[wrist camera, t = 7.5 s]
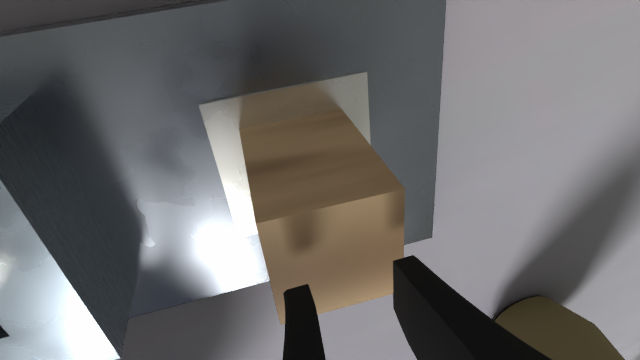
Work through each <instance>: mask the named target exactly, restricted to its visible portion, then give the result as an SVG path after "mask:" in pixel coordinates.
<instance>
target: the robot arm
mask: <svg viewBox="0 0 640 360" xmlns="http://www.w3.org/2000/svg"><path fill="white" fill-rule="evenodd" d="M283 295H284V302H285V340H284V351H283V360H326V359H325V354H324V348H323V343H322V337H321V332H320V327H319V321H318V316H317V310H316V305H315V302H314V299H313V296H312V293H311V290H310V288H309V285H308V284H305V285H302V286H298V287H294V288H290V289H287V290H286V291H285V292H284V293H283ZM393 304H394V310H395V313H396V315H397V318H398V320H399V323H400V325H401V327H402V330H403V332H404V334H405V337H406V339H407V341H408V343H409V345H410V347H411V349H412V351H413V353H414V354H415V356H416V358H417V360H552V359H551V358H549V357H547V356H546V355H544V354H542V353H541V352H539V351H538V350H536V349H534V348H533V347H531V346H530V345H528V344H527V343H525V342H524V341H522V340H521V339H519V338H518V337H516V336H515V335H513V334H512V333H511V332H509V331H508V330H506V329H505V328H503V327H502V326H501V325H499V324H498V323H496V322H495V321H494V320H492V319H491V318H490V317H488V316H487V315H486V314H484V313H483V312H482V311H480V310H479V309H478V308H476V307H475V306H474V305H473V304H471V303H470V302H469V301H467V300H466V299H465V298H464V297H462V296H461V295H460V294H459V293H457V292H456V291H455V290H454V289H452V288H451V287H450V286H449V285H448V284H446V283H445V282H444V281H443V280H442V279H440V278H439V277H438V276H437V275H436V274H435V273H433V272H432V271H431V270H430V269H429V268H428V267H427V266H426V265H424V264H423V263H422V262H421V261H420V260H419V259H418V258H416V257H415V256H413V255H412V256H408V257H405V258H401V259H397V260H394V261H393Z"/></svg>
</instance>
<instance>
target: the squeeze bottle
mask: <svg viewBox="0 0 640 360" xmlns="http://www.w3.org/2000/svg"><path fill="white" fill-rule="evenodd" d="M495 322H496V323H498V324H499V325H501V326H502V327H503V328H505V329H506V330H508V331H509V332H511V333H512V334H513V335H515V336H516V337H518V338H519V339H521V340H522V341H524V342H525V343H527V344H528V345H530V346H531V347H533V348H534V349H536V350H538V351H539V352H541V353H542V354H544V355H546V356H547V357H549V358H551V359H552V360H625V359H624V358H623V357H622V356H621V355H620V353H619V352H618V351H617V350H616V349H615V347H614V346H613V345H612V344H611V343H610V341H609V340H608V339H607V338H606V337H605V336H604V334H603V333H602V332H601V331H600V330H599V329H598V328H597V327H596V326H595V324H593V323H592V322H590V321H588V320H586V319H585V318H583V317H581V316H579V315H578V314H576V313H574V312H572V311H571V310H569V309H567V308H565V307H563V306H562V305H560V304H558V303H556V302H555V301H553V300H551V299H549V298H547V297H541V296H536V297H532V298H527V299H524V300H522V301H520V302H518V303H515V304H513V305H512V306H510V307H509V308H508V309H506V310H505V311H504V312H502V313H501V314H500V315H499V316H498V317H497V319H496V320H495Z"/></svg>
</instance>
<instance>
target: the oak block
mask: <svg viewBox="0 0 640 360" xmlns="http://www.w3.org/2000/svg"><path fill="white" fill-rule="evenodd" d="M239 133H240V138H241V144H242V150H243V155H244V161H245V166H246V172H247V178H248V183H249V189H250V195H251V200H252V206H253V211H254V217H255V223H256V227H257V231H258V235H259V239H260V243H261V247H262V251H263V255H264V260H265V264H266V268H267V272H268V276H269V280H270V284H271V288H272V292H273V296H274V300H275V304H276V308H277V312H278V316H279V320H280V324H285V302H284V295H283V293H284V292H285V291H286V290H287V289H290V288H294V287H298V286H302V285H305V284H308V285H309V288H310V290H311V293H312V296H313V299H314V302H315V305H316V310H317V314H321V313H325V312H328V311H332V310H335V309H339V308H343V307H346V306H350V305H354V304H357V303H361V302H365V301H368V300H372V299H375V298H379V297H383V296H386V295H390V294H393V261H394V260H397V259H401V258H404V211H405V188H404V187H403V186H402V184H401V183H400V182H399V181H398V179H397V178H396V177H395V176H394V174H393V173H392V172H391V170H390V169H389V168H388V167H387V165H386V164H385V163H384V162H383V160H382V159H381V158H380V157H379V155H378V154H377V153H376V151H375V150H374V149H373V148H372V146H371V145H370V144H369V143H368V141H367V140H366V139H365V138H364V136H363V135H362V134H361V133H360V131H359V130H358V129H357V127H356V126H355V125H354V124H353V122H352V121H351V120H350V119H349V117H348V116H347V115H346V114H345V112H344V111H343V110H342V109H341V110H336V111H331V112H326V113H321V114H316V115H311V116H306V117H300V118H295V119H290V120H285V121H280V122H275V123H270V124H265V125H260V126H255V127H250V128H245V129H239Z"/></svg>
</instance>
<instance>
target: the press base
mask: <svg viewBox="0 0 640 360" xmlns="http://www.w3.org/2000/svg"><path fill="white" fill-rule="evenodd" d="M445 11H446V0H199V1H193V2H186V3H180V4H174V5H167V6H161V7H155V8H148V9H142V10H136V11H129V12H123V13H117V14H111V15H104V16H98V17H92V18H85V19H79V20H73V21H66V22H60V23H54V24H47V25H41V26H35V27H29V28H22V29H16V30H10V31H3V32H0V360H118V359H121V354H122V349H123V344H124V339H125V334H126V329H127V324H128V319H129V318H132V317H135V316H139V315H143V314H147V313H150V312H154V311H158V310H162V309H165V308H169V307H173V306H177V305H180V304H184V303H188V302H192V301H196V300H199V299H203V298H207V297H211V296H214V295H218V294H222V293H226V292H229V291H233V290H237V289H241V288H244V287H248V286H252V285H256V284H259V283H263V282H267V281H270V280H269V276H268V272H267V268H266V264H265V260H264V255H263V251H262V247H261V243H260V239H259V235H258V231H257V227H256V223H255V217H254V211H253V206H252V200H251V195H250V189H249V183H248V178H247V172H246V166H245V161H244V155H243V150H242V144H241V138H240V133H239V129H245V128H250V127H255V126H260V125H265V124H270V123H275V122H280V121H285V120H290V119H295V118H300V117H306V116H311V115H316V114H321V113H326V112H331V111H336V110H341V109H342V110H343V111H344V112H345V114H346V115H347V116H348V117H349V119H350V120H351V121H352V122H353V124H354V125H355V126H356V127H357V129H358V130H359V131H360V133H361V134H362V135H363V136H364V138H365V139H366V140H367V141H368V143H369V144H370V145H371V146H372V148H373V149H374V150H375V151H376V153H377V154H378V155H379V157H380V158H381V159H382V160H383V162H384V163H385V164H386V165H387V167H388V168H389V169H390V170H391V172H392V173H393V174H394V176H395V177H396V178H397V179H398V181H399V182H400V183H401V184H402V186H403V187H404V188H405V211H404V245H406V244H410V243H413V242H417V241H421V240H425V239H428V238H432V231H433V214H434V197H435V180H436V163H437V146H438V129H439V112H440V95H441V79H442V62H443V45H444V28H445Z"/></svg>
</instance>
